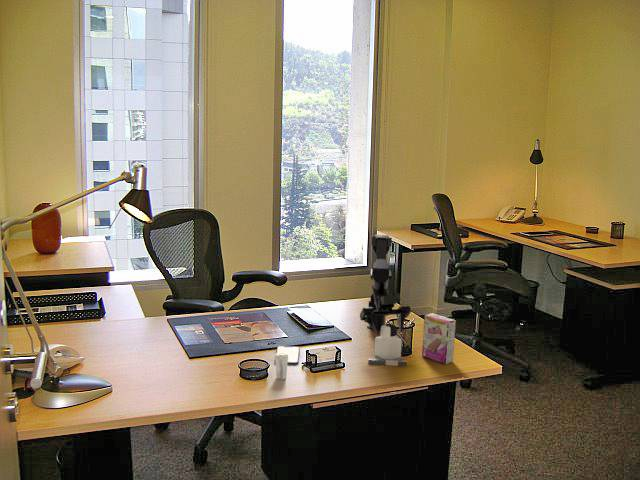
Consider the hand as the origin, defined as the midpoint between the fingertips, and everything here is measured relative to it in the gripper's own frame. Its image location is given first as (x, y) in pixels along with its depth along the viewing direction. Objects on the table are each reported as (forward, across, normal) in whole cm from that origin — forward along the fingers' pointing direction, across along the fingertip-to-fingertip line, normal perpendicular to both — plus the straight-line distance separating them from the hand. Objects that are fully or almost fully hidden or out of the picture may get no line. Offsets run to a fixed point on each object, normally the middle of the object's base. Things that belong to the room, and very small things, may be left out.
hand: (390, 333), depth 260 cm
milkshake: (+14, -43, 0) cm, 46 cm away
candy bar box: (+10, +18, +4) cm, 21 cm away
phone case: (+1, -37, +14) cm, 39 cm away
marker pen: (+11, -2, +3) cm, 11 cm away
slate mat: (+6, 0, +8) cm, 10 cm away
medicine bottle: (+6, 0, +8) cm, 10 cm away
